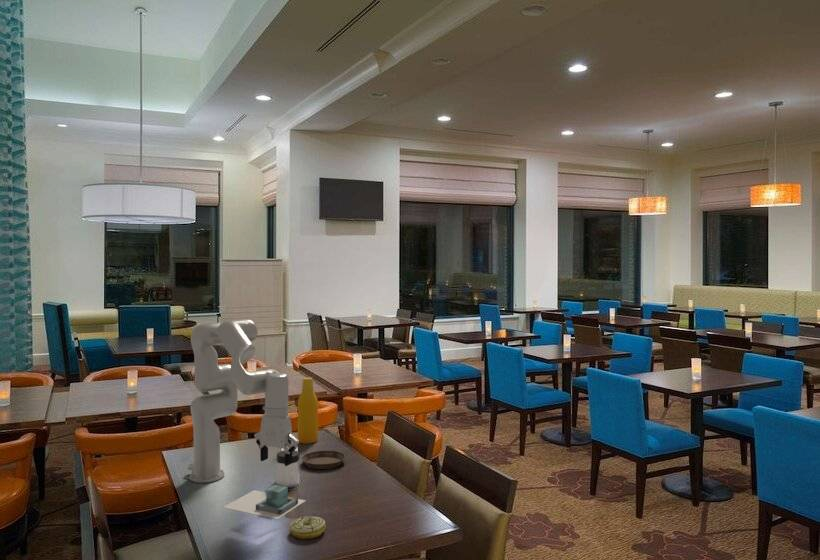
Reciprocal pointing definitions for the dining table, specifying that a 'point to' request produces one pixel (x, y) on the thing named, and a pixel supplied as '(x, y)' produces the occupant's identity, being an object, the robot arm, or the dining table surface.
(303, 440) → the beer bottle
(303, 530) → the decorated donut
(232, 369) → the robot arm
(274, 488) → the teal block
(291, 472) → the jar
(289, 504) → the board
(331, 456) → the plant saucer
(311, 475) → the dining table surface
